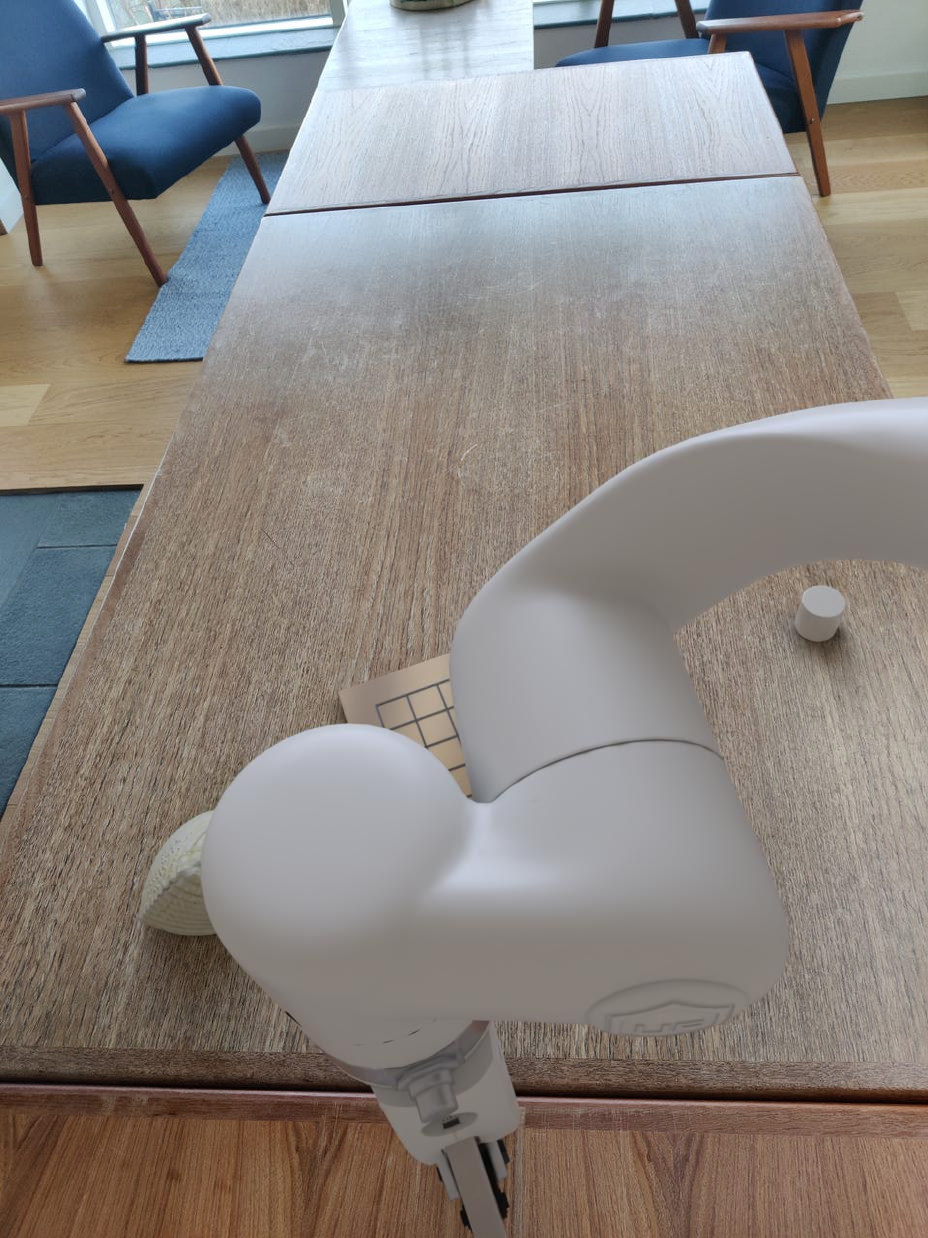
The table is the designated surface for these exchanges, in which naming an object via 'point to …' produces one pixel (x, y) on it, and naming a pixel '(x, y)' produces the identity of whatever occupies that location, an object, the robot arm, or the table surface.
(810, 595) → the grey cylinder
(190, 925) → the seashell
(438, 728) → the board
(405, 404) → the table surface
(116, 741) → the table surface
